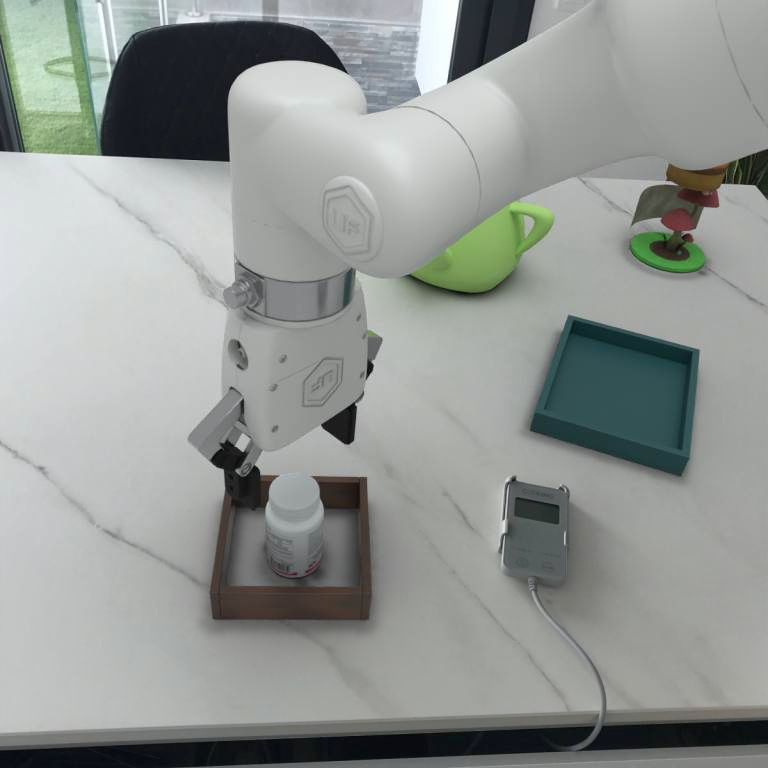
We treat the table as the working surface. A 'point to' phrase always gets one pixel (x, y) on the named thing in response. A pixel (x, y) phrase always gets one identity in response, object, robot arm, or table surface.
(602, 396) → the tray
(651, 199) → the mushroom figurine
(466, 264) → the teapot
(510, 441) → the table surface
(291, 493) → the pill bottle
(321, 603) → the square wooden frame
